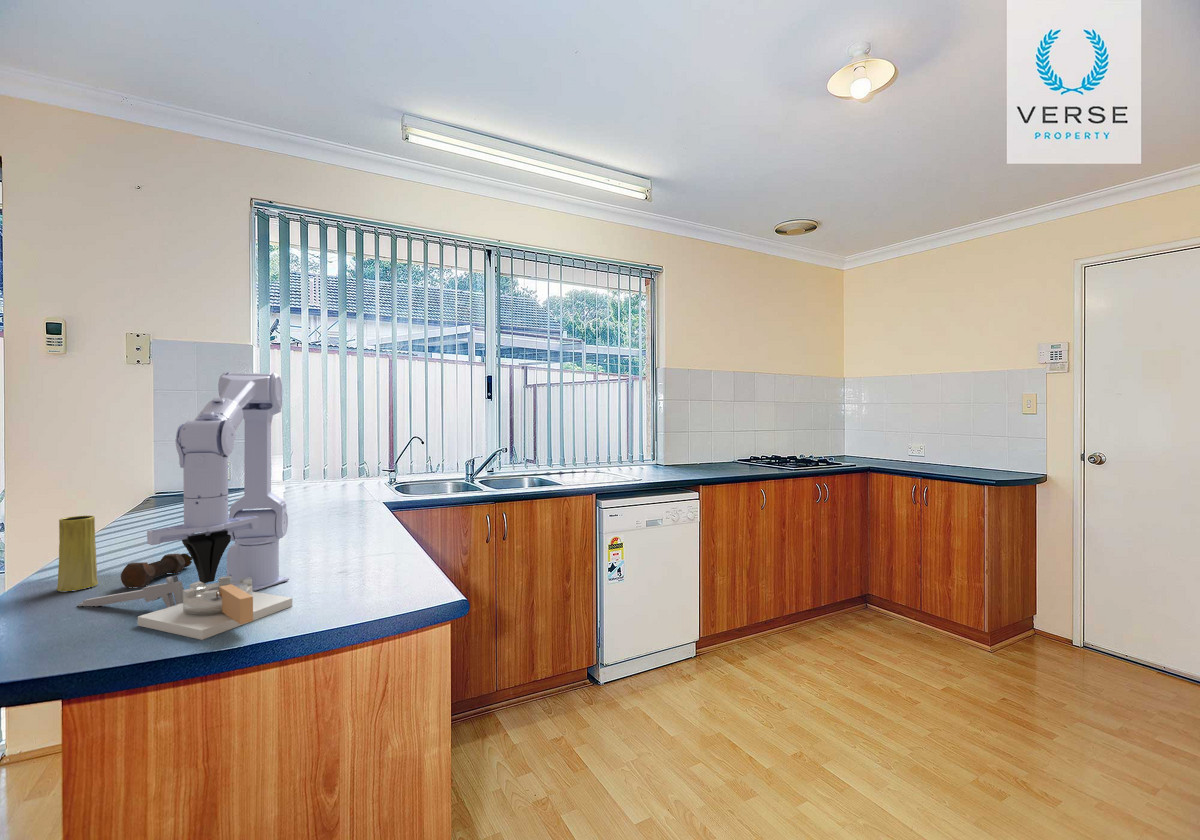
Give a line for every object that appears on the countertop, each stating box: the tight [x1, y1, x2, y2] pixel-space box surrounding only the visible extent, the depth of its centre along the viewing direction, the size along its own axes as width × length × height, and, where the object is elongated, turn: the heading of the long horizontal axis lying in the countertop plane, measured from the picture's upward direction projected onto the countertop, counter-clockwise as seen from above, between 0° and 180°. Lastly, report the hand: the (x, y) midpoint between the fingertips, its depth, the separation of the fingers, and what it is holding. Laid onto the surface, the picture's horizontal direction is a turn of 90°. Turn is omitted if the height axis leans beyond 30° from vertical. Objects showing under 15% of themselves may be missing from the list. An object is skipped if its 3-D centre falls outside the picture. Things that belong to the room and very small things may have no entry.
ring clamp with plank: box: [183, 575, 254, 625], centre depth 93 cm, size 18×10×4 cm, turn 51°
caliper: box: [77, 574, 185, 608], centre depth 99 cm, size 20×1×6 cm, turn 85°
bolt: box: [120, 553, 193, 589], centre depth 118 cm, size 6×5×15 cm
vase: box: [56, 515, 99, 592], centre depth 110 cm, size 6×6×14 cm
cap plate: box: [137, 591, 293, 641], centre depth 95 cm, size 16×16×2 cm
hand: (206, 581), depth 86 cm, fingers closed
